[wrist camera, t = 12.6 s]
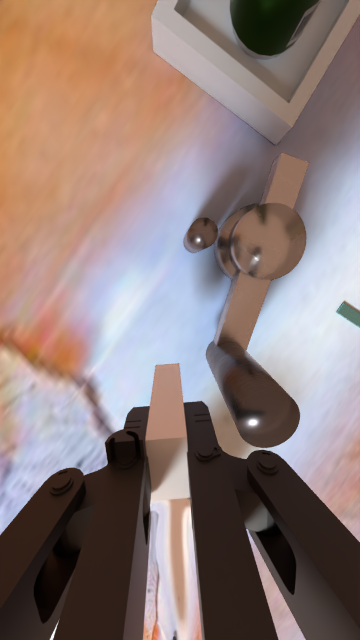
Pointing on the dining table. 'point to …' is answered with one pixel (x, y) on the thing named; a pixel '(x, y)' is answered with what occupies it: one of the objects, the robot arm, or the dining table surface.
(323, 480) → the dining table surface
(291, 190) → the crank
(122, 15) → the dining table surface
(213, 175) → the dining table surface
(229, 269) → the base
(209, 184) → the dining table surface
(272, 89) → the tray
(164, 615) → the beer glass
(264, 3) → the beer can
